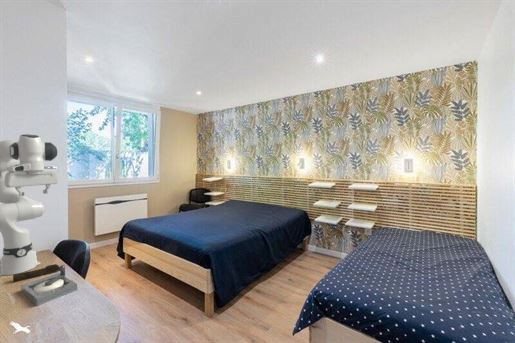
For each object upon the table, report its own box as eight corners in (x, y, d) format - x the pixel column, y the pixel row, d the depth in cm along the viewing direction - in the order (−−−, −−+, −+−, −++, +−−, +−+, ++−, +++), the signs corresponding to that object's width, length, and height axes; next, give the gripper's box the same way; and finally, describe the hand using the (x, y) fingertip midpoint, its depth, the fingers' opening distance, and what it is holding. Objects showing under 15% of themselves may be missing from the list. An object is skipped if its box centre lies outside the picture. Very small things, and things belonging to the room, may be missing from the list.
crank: (27, 294, 113) (26, 278, 113) (54, 279, 128) (53, 264, 127) (50, 295, 113) (49, 278, 112) (74, 279, 127) (74, 265, 127)
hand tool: (12, 283, 126) (12, 274, 126) (14, 280, 130) (13, 271, 129) (59, 273, 138) (59, 265, 137) (60, 270, 141) (59, 262, 141)
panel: (21, 291, 118) (20, 285, 118) (60, 277, 131) (60, 272, 131) (37, 305, 106) (36, 298, 106) (78, 289, 120) (78, 283, 119)
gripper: (54, 166, 133) (55, 191, 134) (1, 167, 115) (3, 197, 116) (60, 166, 130) (61, 192, 131) (7, 168, 112) (9, 198, 113)
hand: (34, 194), depth 123 cm, fingers open, 8 cm apart
